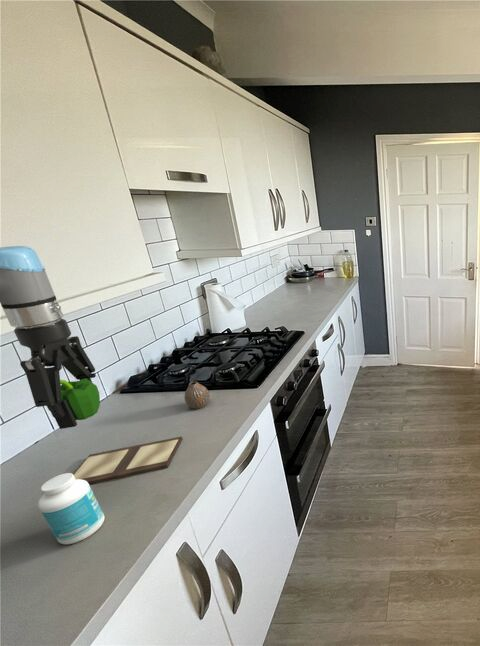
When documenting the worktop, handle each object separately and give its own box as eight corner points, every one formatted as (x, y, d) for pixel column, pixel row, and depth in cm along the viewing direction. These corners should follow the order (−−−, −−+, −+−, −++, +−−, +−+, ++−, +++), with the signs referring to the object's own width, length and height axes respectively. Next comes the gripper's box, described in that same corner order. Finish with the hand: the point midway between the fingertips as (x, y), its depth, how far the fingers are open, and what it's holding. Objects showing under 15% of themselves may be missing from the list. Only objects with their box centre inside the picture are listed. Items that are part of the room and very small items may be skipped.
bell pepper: (112, 402, 85) (97, 366, 81) (97, 421, 78) (80, 382, 74) (67, 410, 82) (50, 373, 78) (48, 431, 75) (28, 391, 71)
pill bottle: (113, 521, 76) (89, 474, 71) (69, 552, 70) (40, 501, 65) (95, 510, 79) (71, 463, 74) (51, 538, 73) (23, 489, 68)
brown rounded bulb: (214, 404, 118) (208, 382, 115) (191, 414, 113) (184, 391, 110) (207, 397, 122) (201, 375, 119) (185, 406, 117) (177, 384, 114)
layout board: (63, 490, 85) (61, 486, 84) (91, 457, 95) (89, 453, 95) (167, 467, 91) (166, 464, 91) (182, 439, 102) (181, 435, 101)
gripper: (23, 339, 63) (72, 440, 71) (91, 306, 82) (124, 389, 90) (-31, 345, 61) (26, 448, 69) (52, 309, 80) (89, 394, 88)
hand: (81, 414), depth 80 cm, fingers closed on bell pepper, 8 cm apart
